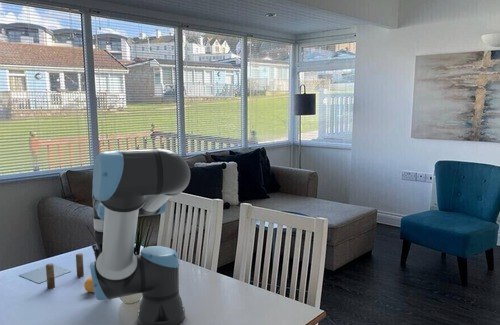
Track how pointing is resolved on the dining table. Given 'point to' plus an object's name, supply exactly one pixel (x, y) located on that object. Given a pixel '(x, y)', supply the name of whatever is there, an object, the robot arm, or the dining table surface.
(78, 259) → the right post
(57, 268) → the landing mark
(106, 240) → the robot arm
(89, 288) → the ball
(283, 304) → the dining table surface
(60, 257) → the dining table surface
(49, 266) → the left post
